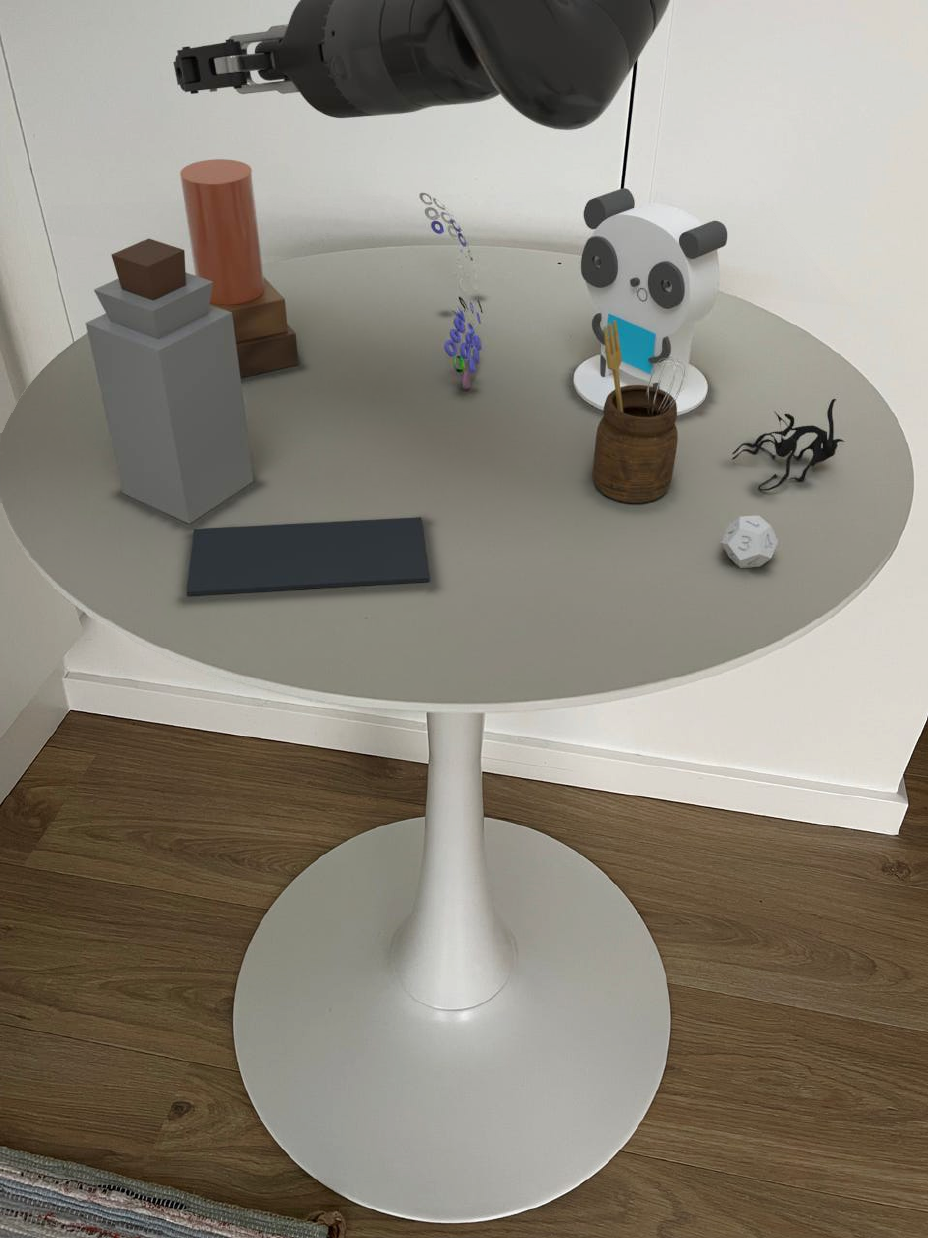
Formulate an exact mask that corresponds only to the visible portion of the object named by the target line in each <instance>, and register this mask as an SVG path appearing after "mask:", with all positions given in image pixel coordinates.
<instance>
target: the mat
mask: <svg viewBox="0 0 928 1238" xmlns="http://www.w3.org/2000/svg"><path fill="white" fill-rule="evenodd" d="M192 535H193V536H192V538H193V539H192V544H191V554H190V559H189V560H190V561H189V567H188V568H189V569H188V575H187V576H188V577H187V585H186V595H187V596H188V597H191V596H193V597H194V596H207V595H225V594H226V595H227V594H242V593H259V592H261V593H262V592H276V591H279V592H280V591H296V590H311V589H312V590H313V589H314V590H315V589H330V588H344V587H345V588H348V587H365V586H378V585H379V586H382V585H383V586H384V585H399V584H414V583H415V584H417V583H418V584H419V583H430V571H429V566H428V558H427V557H428V556H427V551H426V543H425V536H424V529H423V521H422V517H421V516H420V517H419V516H418V517H417V516H416V517H400V518H399V517H398V518H381V519H380V518H379V519H362V520H360V519H359V520H342V521H341V520H340V521H323V522H321V521H320V522H303V523H285V524H267V525H265V524H264V525H247V526H228V527H208V528H194V529H193V534H192Z"/></svg>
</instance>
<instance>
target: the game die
mask: <svg viewBox="0 0 928 1238" xmlns="http://www.w3.org/2000/svg"><path fill="white" fill-rule="evenodd" d="M778 544H779V539H778V538H777V536H776V533H775V532H774V529H773V527H772V525H770V524H769V523H768V522H767V521H766V520H765V519H763V517H761V516H760V515H743V516H738V517H737V518H736V519H735V520H734V521H732V522H731V523H730V524H728V526H727V528H726V530H725V532H724V535H723V537H722V540H721V546H722V547H723V549H724V551H725V552H726V555H727V557H728V558H729V559H730V560H731V561H732V562H733V563H734V564H735V565H737V566H738V567H739V569H748V568H760V567H761V566H763V565H765V564H766V563H767V562H768V561H770V560H772V558H773V555H774V553H775V550H776V548H777V545H778Z"/></svg>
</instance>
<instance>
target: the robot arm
mask: <svg viewBox="0 0 928 1238" xmlns="http://www.w3.org/2000/svg"><path fill="white" fill-rule="evenodd" d="M670 1H671V0H299V1H298V3H297V4H296V5H295V7H294V9H293V11H292V13H291V15H290V18H289V22H288V23H285V24H277V25H272V26H270V27H269V28H268V30H266V31H259V32H251V33H250V32H249V33H242V34H235V35H231V36H230V37H229V38H228V39H225V41H224V42H220V43H214V44H213V43H212V44H208V45H201V46H195V47H191V46H181V49H178V50H176V53H177V54H176V56H175V61H172V62H173V68H174V73H175V78H176V83H177V86H179V87H180V89H181V90H182V91H184V92H185V93H190V94H191V95H195V94H199V91H208V90H209V92H210V93H214V92H218V89H226V88H233V89H234V90H235V91H236V92H237V93H239V94H240V95H247V94H256V93H257V94H258V93H265V92H273V91H274V92H275V91H276V92H278V93H279V94H283V95H285V94H293V93H295V94H296V93H300V95H301V96H302V97H303V99H304V100H305V101H306V102H307V103H308V104H309V105H310V106H311V107H312V108H313V109H315V110H316V111H318V112H319V113H321V114H323V115H325V116H327V117H330V118H336V119H349V118H350V119H351V118H363V117H376V116H389V115H403V114H408V113H409V114H410V113H416V112H419V111H421V110H425V109H429V108H433V107H443V106H444V107H445V106H454V105H455V106H456V105H468V104H475V103H480V102H481V103H482V102H486V101H489V100H492V99H494V98H496V97H498V96H501V97H502V98H503V99H504V100H505V102H507V103H508V104H509V105H510V107H512V108H514V110H516V112H518V113H519V114H521V115H522V116H523V117H525V118H527V119H528V120H530V121H532V122H533V123H536V124H538V125H541V126H543V127H546V128H549V129H553V130H562V131H573V130H578V129H583V128H584V127H587V126H589V125H591V124H592V123H594V122H596V121H597V120H598V119H599V118H600V117H601V116H602V115H603V113H605V112H606V111H607V109H608V108H609V106H610V105H611V104H612V102H613V100H614V99H615V97H616V96H617V94H618V93H619V91H620V89H621V87H622V86H623V84H624V82H625V81H626V79H627V77H628V76H629V74H630V73H631V71H632V69H633V68H634V66H635V64H636V62H637V61H638V59H639V58H640V56H641V54H642V53H643V51H644V49H645V48H646V46H647V44H648V42H649V40H650V39H651V38H652V36H653V34H654V33H655V31H656V29H657V28H658V26H659V25H660V24H661V21H662V19H663V18H664V17H665V14H666V12H667V9H668V6H669V4H670ZM255 43H256V45H255V47H254V53H249V54H248V47H249V46H250V45H251V44H255ZM253 71H257V73H258V76H259V77H260V78H261V79H262V80H264V81H268V82H262V83H257V82H255V81H254V80H253V79H252V74H251V72H253Z"/></svg>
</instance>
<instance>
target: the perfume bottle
mask: <svg viewBox="0 0 928 1238" xmlns="http://www.w3.org/2000/svg"><path fill="white" fill-rule="evenodd" d="M110 256H111V259H112V262H113V265H114V268H115V272H116V275H117V278H116V279H114V280H112V281H110V282H107V283H105V284H102V285H101V286H99V287H96V288H93V292H94V294H95V296H96V297H97V299H98V301H99V303H100V305H101V307H102V308H103V310H104V312H105V313H104V314H102V315H100V316H97V317H95V318H93V319H91V320H88V321H87V322H85V326H86V331H87V335H88V341H89V346H90V350H91V353H92V358H93V363H94V369H95V373H96V377H97V382H98V385H99V391H100V395H101V399H102V405H103V409H104V412H105V418H106V422H107V427H108V431H109V436H110V441H111V444H112V450H113V453H114V458H115V464H116V467H117V472H118V476H119V481H120V485H121V490H122V494H124V495H125V496H128V497H130V498H132V499H134V500H137V501H139V502H141V503H142V504H145V505H147V506H149V507H152V508H154V509H155V510H158V511H160V512H163V513H165V514H166V515H168V516H171V517H173V518H175V519H178V520H180V521H182V522H183V523H186V524H189V525H191V524H192V523H193V522H195V521H196V520H198V519H199V518H201V517H202V516H203V515H205V514H207V513H208V512H210V511H211V510H213V509H214V508H216V507H217V506H219V505H221V504H222V503H223V502H225V501H226V500H228V499H230V498H231V497H232V496H234V495H235V494H237V493H238V492H240V491H241V490H243V489H244V488H246V487H248V486H249V485H250V484H252V483H253V482H254V481H255V479H254V473H253V472H254V471H253V465H252V458H251V449H250V443H249V442H250V441H249V435H248V434H249V433H248V426H247V418H246V411H245V403H244V395H243V388H242V386H243V385H242V378H240V371H239V363H238V355H237V348H236V340H235V332H234V325H233V317H232V312H229V311H226V310H223V309H220V308H217V307H214V306H212V305H209V304H210V298H211V292H212V286H213V281H210V280H207V279H204V278H201V277H198V276H195V274H192V273H188V272H187V271H186V253H185V249H183V248H180V247H176V246H174V245H170V244H167V243H164V242H162V241H158V240H155V239H152V238H147V239H144V240H141V241H139V242H137V243H135V244H133V245H130V246H128V247H126V248H124V249H121V250H118V251H116V252H114V253H112V254H110Z"/></svg>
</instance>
